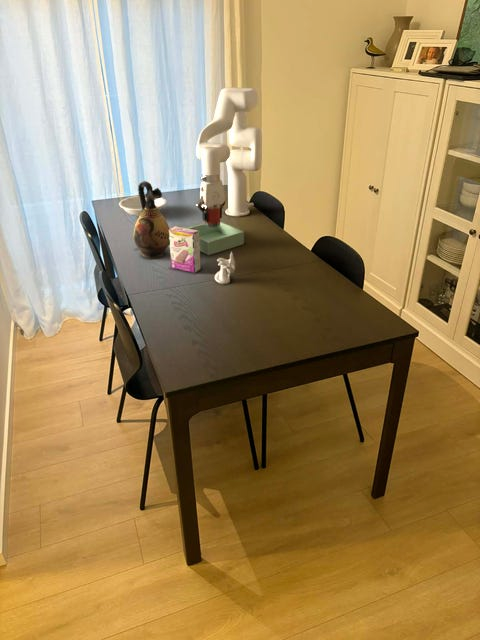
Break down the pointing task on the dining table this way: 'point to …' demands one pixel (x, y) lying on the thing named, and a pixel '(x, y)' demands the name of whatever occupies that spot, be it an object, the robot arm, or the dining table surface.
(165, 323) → the dining table surface
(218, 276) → the figurine
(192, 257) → the candy bar box
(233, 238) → the green square tray
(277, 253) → the dining table surface
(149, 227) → the ceramic jug
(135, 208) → the soup bowl
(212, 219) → the red glass jar
